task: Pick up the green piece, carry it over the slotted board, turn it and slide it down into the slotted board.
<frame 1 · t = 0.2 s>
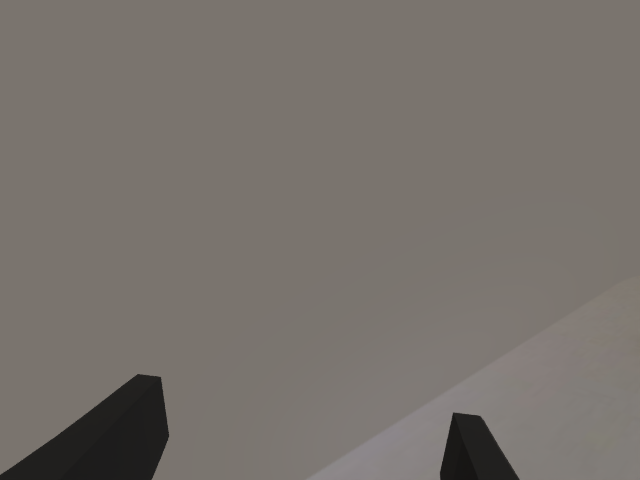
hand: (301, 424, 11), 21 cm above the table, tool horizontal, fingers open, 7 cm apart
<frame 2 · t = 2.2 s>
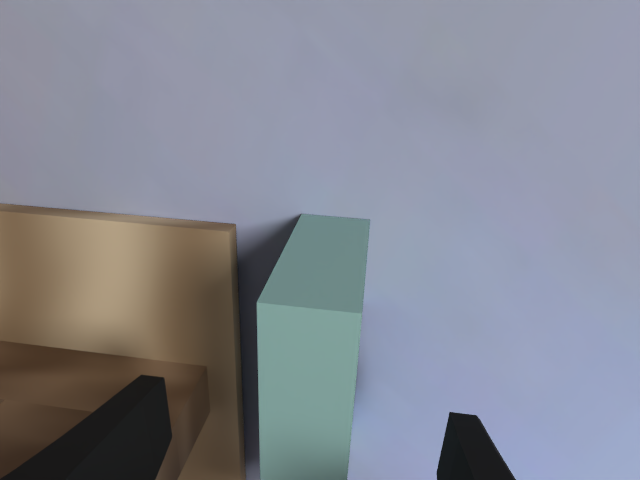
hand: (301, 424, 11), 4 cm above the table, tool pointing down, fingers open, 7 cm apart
green piece: (328, 344, 15), on the table
slotted board: (34, 355, 17), on the table
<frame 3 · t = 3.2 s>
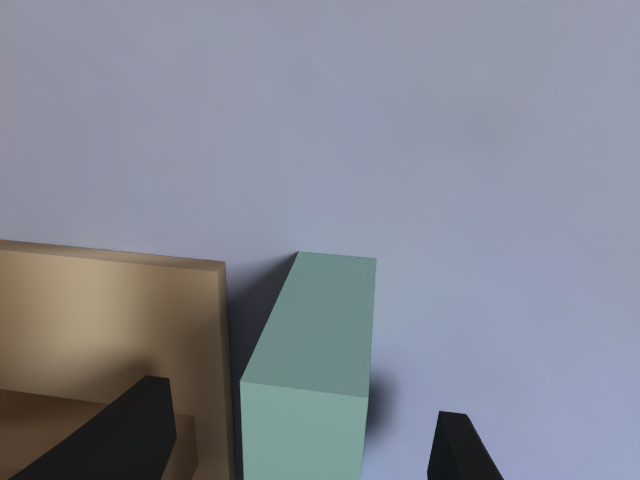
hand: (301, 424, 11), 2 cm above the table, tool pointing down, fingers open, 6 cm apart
green piece: (329, 393, 13), on the table
slotted board: (7, 397, 15), on the table
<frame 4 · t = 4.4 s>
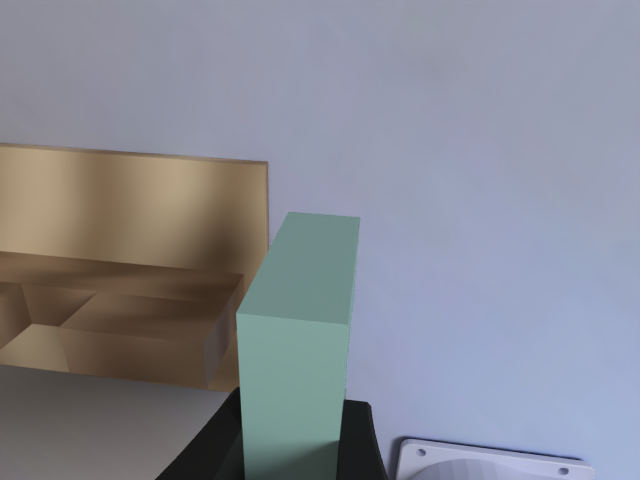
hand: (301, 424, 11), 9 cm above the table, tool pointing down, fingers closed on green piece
green piece: (318, 344, 14), point 6 cm above the table, touching gripper
slotted board: (106, 272, 21), on the table
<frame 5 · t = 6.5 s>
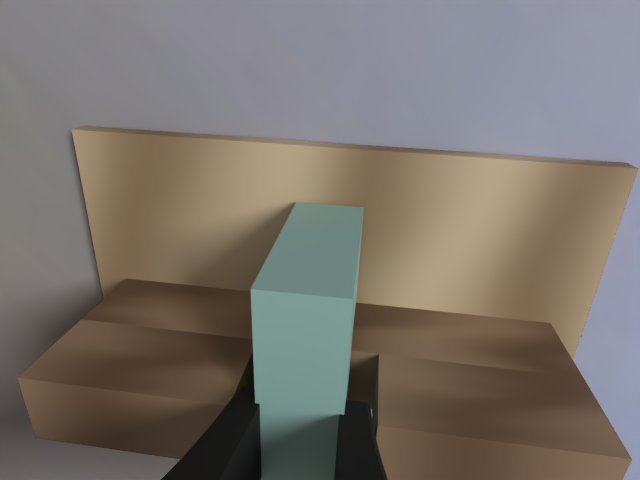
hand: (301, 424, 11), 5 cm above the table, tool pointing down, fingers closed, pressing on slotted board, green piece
green piece: (324, 329, 15), point 1 cm above the table, touching gripper, slotted board
slotted board: (328, 315, 15), on the table
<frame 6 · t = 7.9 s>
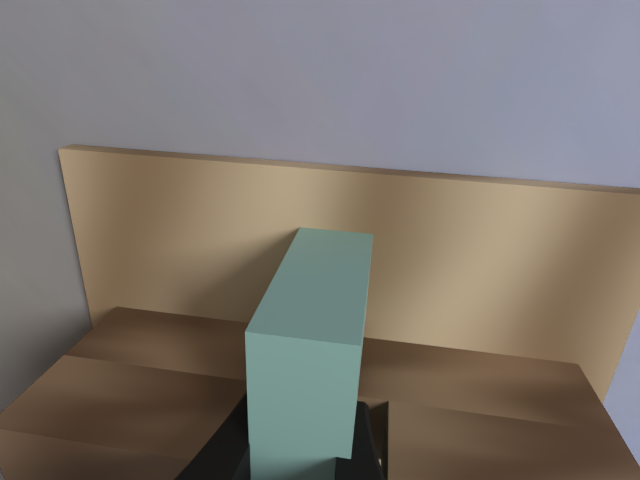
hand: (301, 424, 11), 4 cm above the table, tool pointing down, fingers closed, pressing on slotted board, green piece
green piece: (328, 363, 14), point 1 cm above the table, touching gripper, slotted board
slotted board: (333, 348, 14), on the table
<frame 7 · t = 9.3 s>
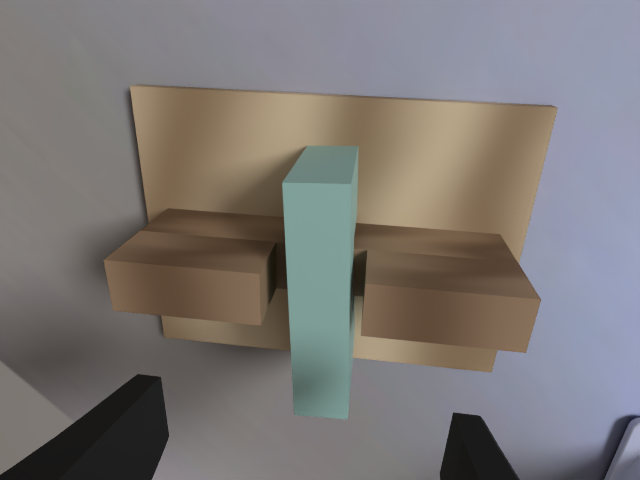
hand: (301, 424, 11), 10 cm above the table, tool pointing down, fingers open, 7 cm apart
green piece: (333, 249, 19), point 1 cm above the table, touching slotted board
slotted board: (328, 236, 20), on the table
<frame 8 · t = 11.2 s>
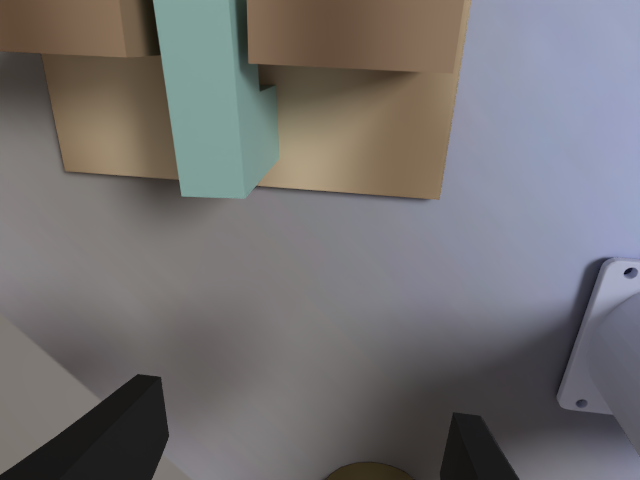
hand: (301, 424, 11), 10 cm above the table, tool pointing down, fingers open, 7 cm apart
green piece: (246, 35, 16), point 1 cm above the table, touching slotted board
slotted board: (243, 25, 17), on the table
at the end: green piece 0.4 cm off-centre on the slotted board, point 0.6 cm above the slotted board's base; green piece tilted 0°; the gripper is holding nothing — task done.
